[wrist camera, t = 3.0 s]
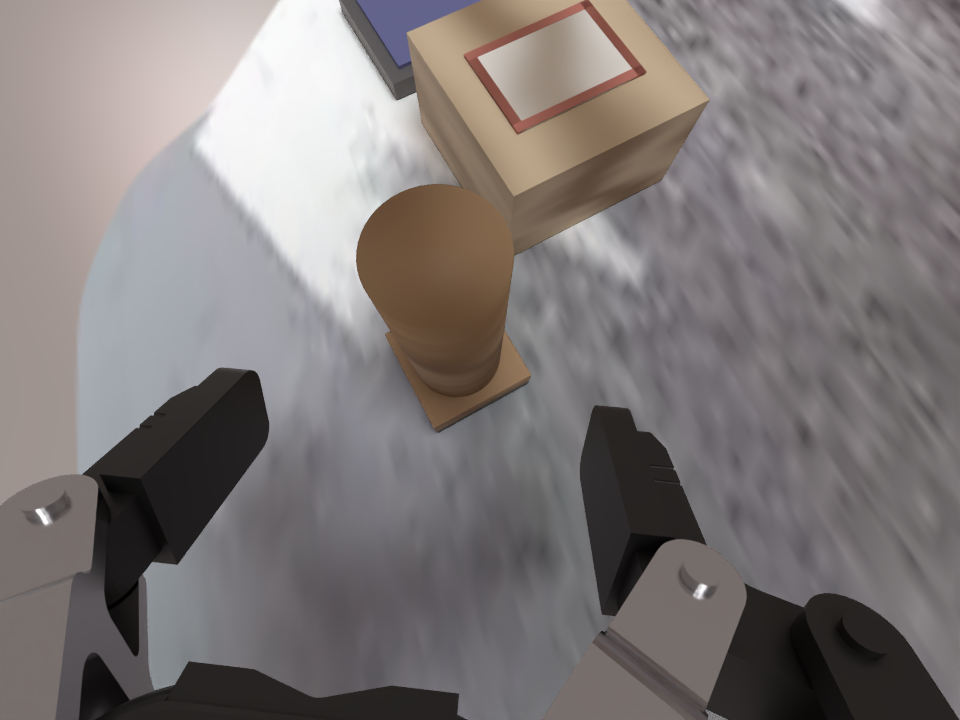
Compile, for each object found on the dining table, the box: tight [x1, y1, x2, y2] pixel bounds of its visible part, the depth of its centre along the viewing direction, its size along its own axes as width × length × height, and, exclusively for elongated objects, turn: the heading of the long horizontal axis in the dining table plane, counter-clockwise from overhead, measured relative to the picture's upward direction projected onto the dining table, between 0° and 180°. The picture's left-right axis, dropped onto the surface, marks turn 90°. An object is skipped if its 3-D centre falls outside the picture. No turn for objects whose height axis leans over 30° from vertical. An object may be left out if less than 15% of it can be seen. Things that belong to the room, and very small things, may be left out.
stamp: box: [356, 184, 531, 433], centre depth 15 cm, size 4×4×10 cm
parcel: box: [407, 0, 709, 255], centre depth 21 cm, size 9×9×5 cm
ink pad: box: [339, 0, 481, 100], centre depth 25 cm, size 10×7×1 cm
